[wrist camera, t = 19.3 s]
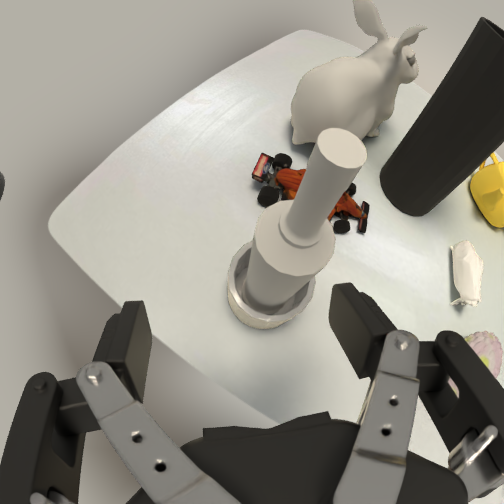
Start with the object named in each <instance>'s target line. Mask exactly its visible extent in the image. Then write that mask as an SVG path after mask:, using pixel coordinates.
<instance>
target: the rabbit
mask: <svg viewBox="0 0 504 504" xmlns="http://www.w3.org/2000/svg"><path fill="white" fill-rule="evenodd" d="M353 4H354V11H355V18H356V21H357V24H358V26H359V27H360V28H361V29H362V30H363V31H364V32H365V33H366V34H367V35H370V36H375V37H377V38H378V41H377V43H376V44H374V45H373V46H372V47H370V48H369V49H368V50H367V51H366V52H364V53H363V54H361V55H360V56H358V57H355V58H353V57H340V58H336V59H334V60H331V61H330V62H328V63H325V64H323V65H320V66H318V67H316V68H313V69H312V70H310V71H308V72H307V73H306V74H305V75H304V76H303V77H302V79H301V80H300V82H299V84H298V86H297V89H296V93H295V95H294V97H293V100H292V103H291V113H292V116H291V125H292V126H293V127H294V132H293V137H292V142H293V144H296V145H298V144H304V143H308V142H314V143H316V141H317V138H318V136H319V135H320V133H321V132H322V131H323V130H326V129H329V128H340V129H343V130H346V131H349V132H351V133H352V134H354V135H355V136H357V137H358V138H359V139H360V141H361V140H362V139H363V138H364V137H365V136H366V135H367V136H369V137H373V136H379V135H380V133H379V129H378V128H377V127H378V126H379V125H380V124H381V123H382V122H383V121H385V120H387V119H389V118H390V117H391V115H392V113H393V110H394V102H395V97H396V94H397V90H398V87H399V85H400V84H401V83H403V84H408V83H410V82H412V81H413V80H414V79H415V78H416V77H417V75H418V72H419V70H418V64H417V61H416V58H415V52H414V51H413V50H412V49H411V47H410V46H409V45H410V44H413V43H414V42H415V41H416V39H417V38H418V34H419V32H421V31H422V30H425V29H427V27H426V26H423V25H417V26H415V27H411V28H409V29H407V30H406V31H405V32H404V33H403V34H402V36H401V37H400V38H399V39H398V38H395V37H389V38H388V35H387V32H386V30H385V28H384V27H383V25H382V22H381V19H380V16H379V13H378V10H377V8H376V6H375V4H374V3H373V2H372V0H353Z"/></svg>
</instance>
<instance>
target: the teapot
mask: <svg viewBox="0 0 504 504" xmlns="http://www.w3.org/2000/svg"><path fill="white" fill-rule="evenodd" d="M490 157H491V158H492V160H493V162H494V164H490V165H488V166H486V167H484V165H485V161H486V160H485V161H484V162H483V163H482V164H481V165H480V168H479V171H478V172H477V173H476V174H475V175H474V176H473V177H472V180H471V184H470V190H471V193H472V195H473V198H474V200H475V202H476V204H477V206H478V207H479V209H480V211H481V212H482V214H483V215H484V216H485V218H486V219H487V220H488V222H489V223H490V224H491V225H493V226H494V227H500V228H502V227H504V161H503V162H498V160H497V158H496V156H495V154H494V152H493V153H492V154H491V155H490Z"/></svg>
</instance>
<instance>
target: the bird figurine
mask: <svg viewBox="0 0 504 504" xmlns="http://www.w3.org/2000/svg"><path fill="white" fill-rule="evenodd" d="M450 248H451V250H452V251H453V252H452V257H453V274H454V284H455V286H456V288H457V290H458V291H459V293H460V296H461V298H458V299H457V300H454V301H453V302H452V303H450V304H451V305H453V304H455V306H456V304H457V305H458V304H462V306H463V304H465V305H466V304H467V303H468V304H470V305H471V306H474V307H477V304H478V302H481V301H482V300H481V294H480V288H481V277H482V274H483V261H482V259H481V257H479V256H478V255H477V254H476V251H475V249H474V247H473V245H472V244H471V243H470V242H469V241H467V240H466V241H461V242H459V243H457V244H456V245H455V246H454V247H452V246H450Z"/></svg>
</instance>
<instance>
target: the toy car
mask: <svg viewBox="0 0 504 504" xmlns="http://www.w3.org/2000/svg"><path fill="white" fill-rule="evenodd" d="M272 162H273V163H272ZM271 164H272V167H273V169H274V170H275V171H274V173H273V174H270V173H269V171H268V170H269V168H270V166H271ZM291 164H292V159H291V157H290V156H288V155H286V154H283V153H279V154H277V155H276V156H275V158H273V157H271V156H269V155H266V154H264V153H261V155H260V158H259V160H258V162H257V165H256V166H255V168H254V171H253V173H252V178H253V179H255V180H257V181H259V182H261V183H263V182H264V181H267V183H268V184H269V186H264V187H262V188H261V191H260V193H259V196H258V198H257V200H258V202H259V203H260V204H262V205H263V206H266V207H269V206H271V205H273V204H275V203H277V201H278V199H279V194H280V193H279V189H280V188H281V189H284V190H283V194H282V198H281V201H285V200H294V198H295V196H296V194H297V191H298V189H299V186H300V184H301V181H302V179H303V177H304V174H305V172H306V169H300V170H293V169H290V167H291ZM274 187H275V188H274ZM355 193H356V185H355V184H354V183H351V184H350V186H349V187H348V189H347V190H346V191H344V193H343V194H342V196H341V197H340V199H339V201H338V202H337V204H336V205H335V207H334V208H333V210H332V211H331V213H330V214H329V216H328V217H327V219H328V220H329V221H330V220H331V219H332V216H333V215H336V216H338V217H340V218H341V220H337V221H336V222H335V223H334V231H335V232H337V233H341V234H342V233H346V232H348V231H350V223H349V221H347V220H348V218H349V217H355V218H360V221H359V228H358V230H359V231H360V232H363V233H365V232H366V227H367V218H368V213H369V204H368V203H366V202H365V201H363V203H362V209H361V208H360V207H359V206H358V204H357V203H356V202H355V201H354V200H353V199H352V198H351V197H350V195H354V194H355Z"/></svg>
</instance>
